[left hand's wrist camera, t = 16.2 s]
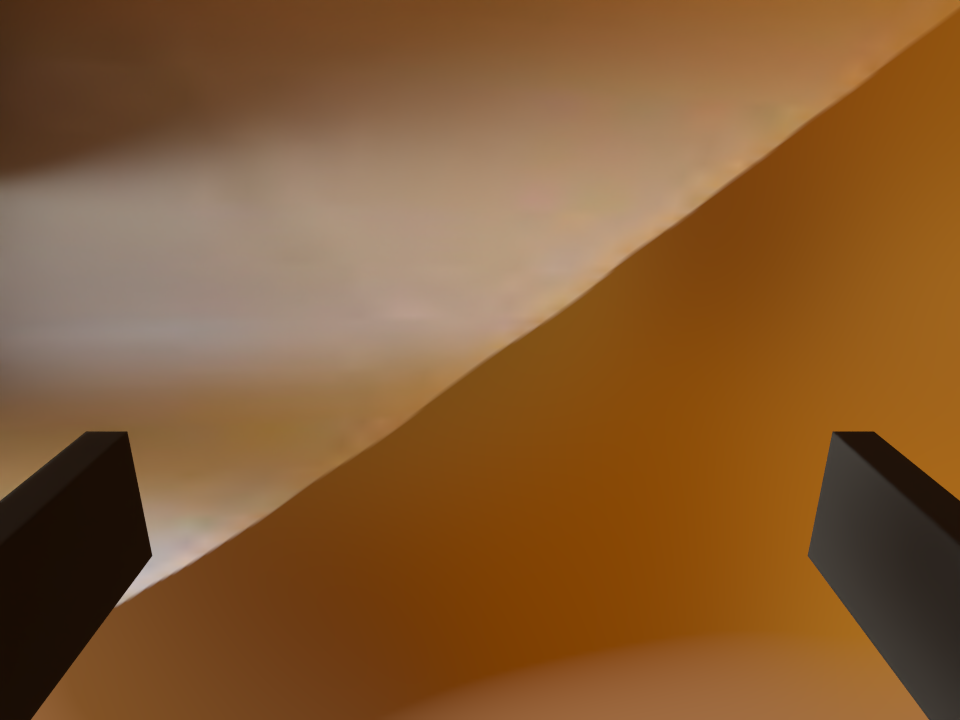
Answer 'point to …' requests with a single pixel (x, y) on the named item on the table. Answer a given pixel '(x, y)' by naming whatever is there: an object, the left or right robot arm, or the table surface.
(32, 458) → the table surface
